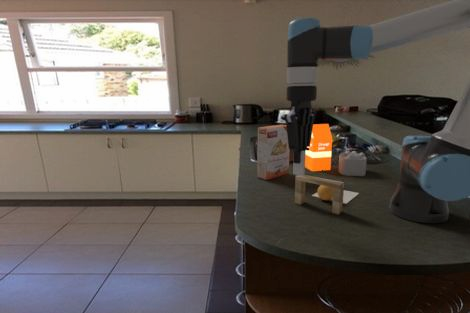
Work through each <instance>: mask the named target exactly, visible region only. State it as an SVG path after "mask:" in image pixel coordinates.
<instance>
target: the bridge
mask: <svg viewBox="0 0 470 313" xmlns="http://www.w3.org/2000/svg"><path fill="white" fill-rule="evenodd" d="M306 183H309V184H315V185H319V186H320V185H323V186H328V187H333V201H332V206H331V208H332V209H331V213H332V214H334V215H340V214H341V213H343V204H344V203H343V194H344V190H345V182H344V181H338V180H335V179H334V180H333V179H327V178H322V177H318V176H312V175H307V174H304V175H302V176H301V175H295V180H294V204H295V205H300V206H301V205H302V204H304V203H305V202H306V201H305V200H306Z"/></svg>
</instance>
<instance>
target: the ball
mask: <svg viewBox="0 0 470 313" xmlns="http://www.w3.org/2000/svg"><path fill="white" fill-rule="evenodd" d="M317 192H318V196H319V197H320V198H319V199H321V200H322V201H331V200H330V199H332V198H333V187H328V186H323V185H319V186H318V188H317Z"/></svg>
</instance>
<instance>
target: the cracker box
mask: <svg viewBox="0 0 470 313" xmlns="http://www.w3.org/2000/svg"><path fill="white" fill-rule="evenodd" d="M256 150H257V151H256V152H257V154H256V156H257V159H256V163H257V164H256V165H257V166H256V169H257V170H256V177H257V178H258V179H262V180H265V181H268V180H272V179H277V178H279V177H282V176H286V175H288V174H290V162H289V150H290V149H289V146H288V136H287V127H286V124H277V125H267V126H261V127H257V149H256Z"/></svg>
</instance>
